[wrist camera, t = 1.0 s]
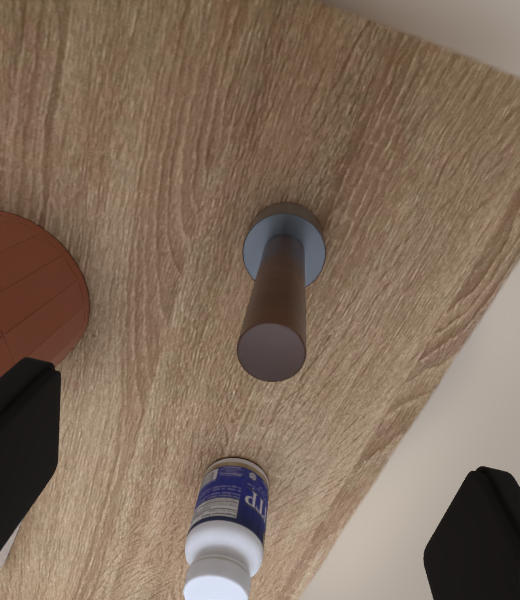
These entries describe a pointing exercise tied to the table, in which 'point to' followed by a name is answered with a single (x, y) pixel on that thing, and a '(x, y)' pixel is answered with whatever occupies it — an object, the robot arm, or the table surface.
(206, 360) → the table surface
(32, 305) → the jar
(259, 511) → the pill bottle
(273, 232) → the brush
